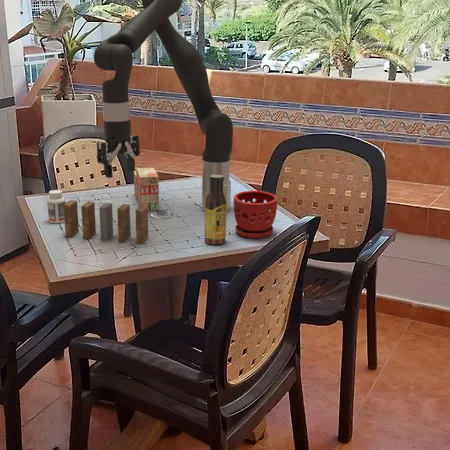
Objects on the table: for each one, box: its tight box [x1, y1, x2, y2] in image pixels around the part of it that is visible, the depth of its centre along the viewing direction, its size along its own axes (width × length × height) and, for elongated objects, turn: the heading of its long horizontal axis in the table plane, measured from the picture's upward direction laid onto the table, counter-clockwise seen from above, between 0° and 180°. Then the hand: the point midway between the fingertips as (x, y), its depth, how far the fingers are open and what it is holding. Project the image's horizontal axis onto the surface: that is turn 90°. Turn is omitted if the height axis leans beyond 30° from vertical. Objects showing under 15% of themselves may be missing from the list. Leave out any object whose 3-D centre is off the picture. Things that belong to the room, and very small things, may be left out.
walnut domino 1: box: [64, 199, 80, 238], centre depth 194 cm, size 2×5×10 cm, turn 168°
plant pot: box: [233, 190, 278, 239], centre depth 197 cm, size 13×13×12 cm
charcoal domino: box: [98, 202, 114, 242], centre depth 192 cm, size 2×5×10 cm, turn 169°
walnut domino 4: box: [134, 205, 149, 245], centre depth 190 cm, size 2×5×10 cm, turn 169°
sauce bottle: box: [203, 175, 228, 246], centre depth 188 cm, size 6×6×20 cm
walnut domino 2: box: [80, 201, 97, 240], centre depth 193 cm, size 2×5×10 cm, turn 169°
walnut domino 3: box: [116, 203, 132, 243], centre depth 191 cm, size 2×5×10 cm, turn 169°
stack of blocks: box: [132, 167, 160, 212], centre depth 228 cm, size 21×6×12 cm, turn 13°
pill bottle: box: [46, 189, 66, 224], centre depth 206 cm, size 5×5×10 cm
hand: (120, 174), depth 188 cm, fingers open, 8 cm apart
